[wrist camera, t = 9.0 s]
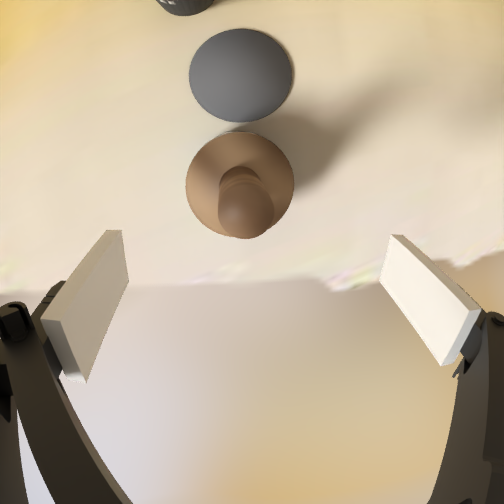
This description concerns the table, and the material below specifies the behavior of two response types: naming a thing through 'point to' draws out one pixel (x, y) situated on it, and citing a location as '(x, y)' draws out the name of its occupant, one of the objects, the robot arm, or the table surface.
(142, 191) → the table surface
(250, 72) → the mat
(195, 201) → the lid
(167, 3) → the coffee cup
